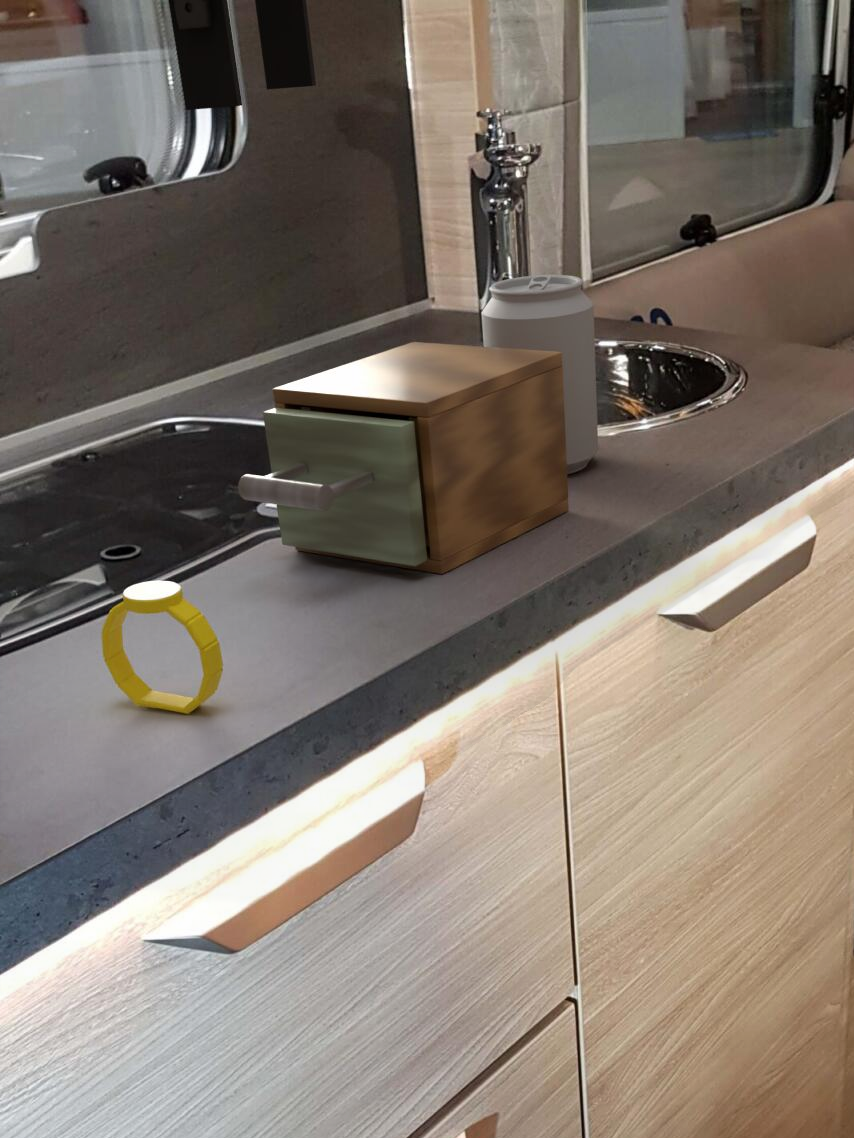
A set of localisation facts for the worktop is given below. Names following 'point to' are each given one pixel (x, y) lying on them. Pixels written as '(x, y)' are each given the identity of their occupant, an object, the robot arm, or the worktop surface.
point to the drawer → (345, 483)
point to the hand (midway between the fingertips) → (255, 97)
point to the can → (552, 345)
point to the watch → (171, 600)
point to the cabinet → (463, 436)
